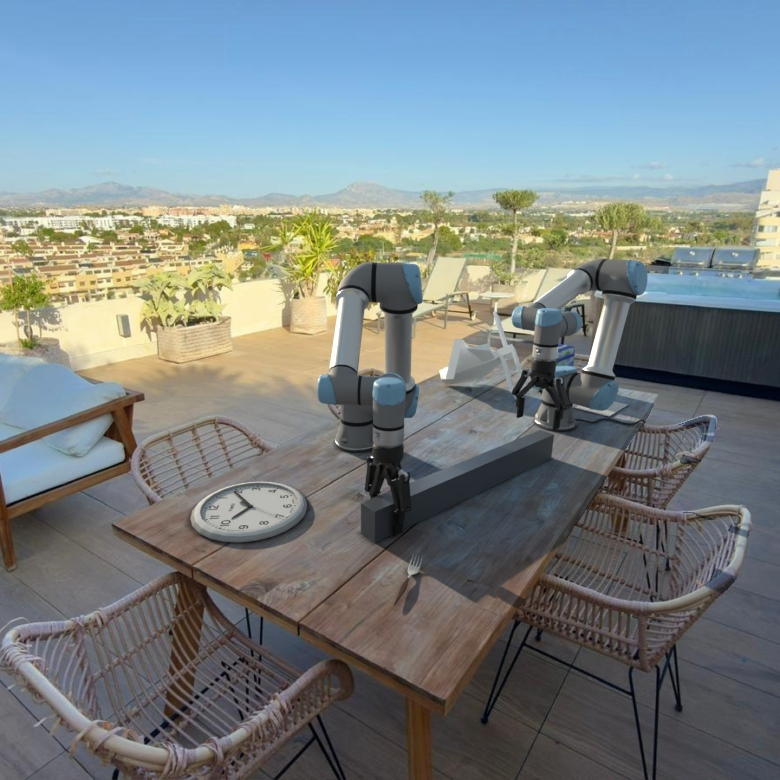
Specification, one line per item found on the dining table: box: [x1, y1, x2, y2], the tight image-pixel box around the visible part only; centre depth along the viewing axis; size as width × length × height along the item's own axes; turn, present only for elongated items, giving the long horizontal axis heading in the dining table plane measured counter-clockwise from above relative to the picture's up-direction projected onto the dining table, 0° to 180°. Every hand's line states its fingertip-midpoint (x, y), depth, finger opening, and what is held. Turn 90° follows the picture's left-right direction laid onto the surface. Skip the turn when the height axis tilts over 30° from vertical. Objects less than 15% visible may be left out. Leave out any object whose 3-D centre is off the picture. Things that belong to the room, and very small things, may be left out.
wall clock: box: [190, 481, 308, 544], centre depth 139 cm, size 30×2×30 cm
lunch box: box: [530, 343, 576, 391], centre depth 249 cm, size 26×11×21 cm, turn 134°
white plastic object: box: [438, 310, 531, 400], centre depth 245 cm, size 37×45×31 cm
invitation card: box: [573, 401, 629, 418], centre depth 226 cm, size 21×1×15 cm
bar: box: [360, 429, 555, 544], centre depth 151 cm, size 77×5×9 cm, turn 131°
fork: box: [393, 553, 424, 606], centre depth 112 cm, size 3×16×2 cm, turn 160°
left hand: (386, 526), depth 132 cm, fingers open, 8 cm apart
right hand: (537, 422), depth 169 cm, fingers open, 13 cm apart
